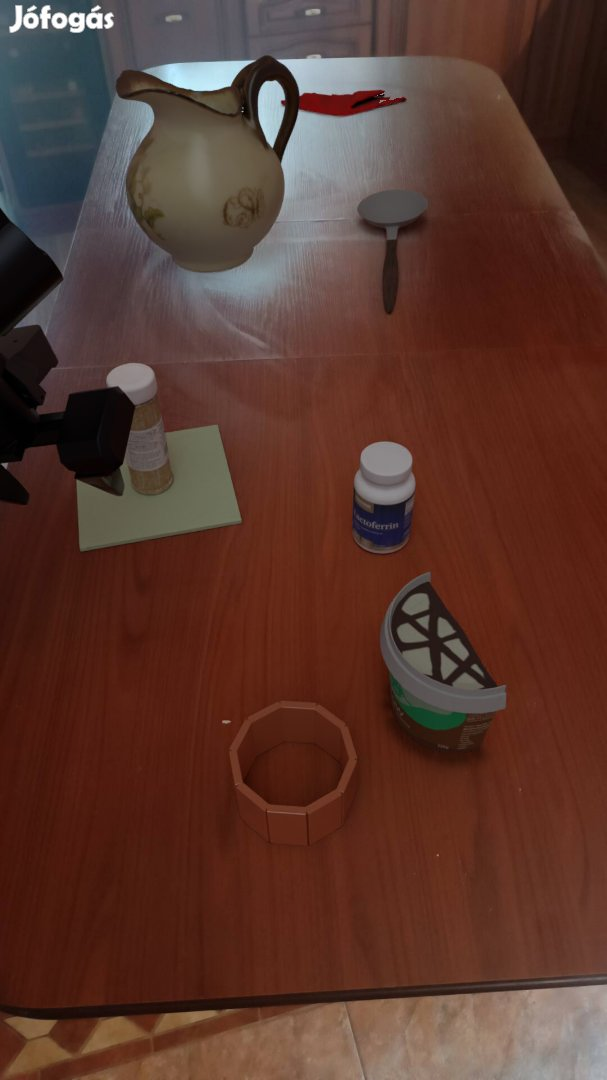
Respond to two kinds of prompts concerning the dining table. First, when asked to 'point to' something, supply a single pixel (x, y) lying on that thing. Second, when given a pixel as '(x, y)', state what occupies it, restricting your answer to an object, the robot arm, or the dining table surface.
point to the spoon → (392, 228)
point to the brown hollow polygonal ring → (302, 727)
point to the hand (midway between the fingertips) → (73, 495)
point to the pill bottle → (383, 498)
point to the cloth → (344, 102)
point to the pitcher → (208, 166)
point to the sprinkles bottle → (144, 429)
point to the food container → (436, 673)
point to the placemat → (164, 497)
